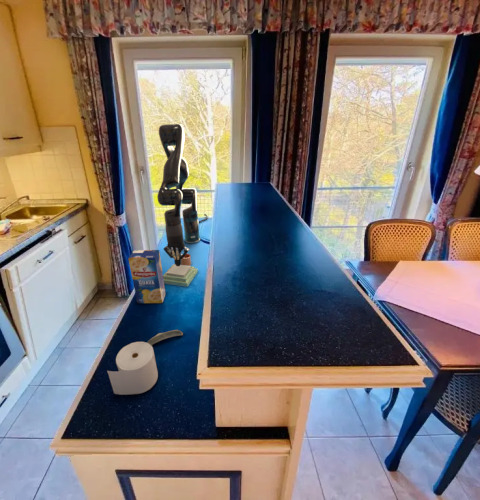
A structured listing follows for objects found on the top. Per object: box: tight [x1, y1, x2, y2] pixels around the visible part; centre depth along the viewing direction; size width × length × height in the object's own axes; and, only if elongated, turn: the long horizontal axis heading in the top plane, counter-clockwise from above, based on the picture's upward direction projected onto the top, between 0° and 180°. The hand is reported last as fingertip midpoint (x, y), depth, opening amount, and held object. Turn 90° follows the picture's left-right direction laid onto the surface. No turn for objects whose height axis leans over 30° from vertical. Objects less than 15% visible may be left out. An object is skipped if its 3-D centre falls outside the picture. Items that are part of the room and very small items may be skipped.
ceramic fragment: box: [146, 329, 184, 346], centre depth 100 cm, size 14×5×4 cm, turn 113°
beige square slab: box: [165, 263, 192, 277], centre depth 136 cm, size 9×9×2 cm
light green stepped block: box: [163, 263, 199, 288], centre depth 137 cm, size 14×14×4 cm
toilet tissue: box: [106, 341, 159, 396], centre depth 83 cm, size 11×12×10 cm
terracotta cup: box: [181, 253, 192, 266], centre depth 148 cm, size 6×6×5 cm
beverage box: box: [127, 249, 167, 304], centre depth 118 cm, size 7×11×22 cm, turn 88°
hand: (178, 265), depth 135 cm, fingers closed
